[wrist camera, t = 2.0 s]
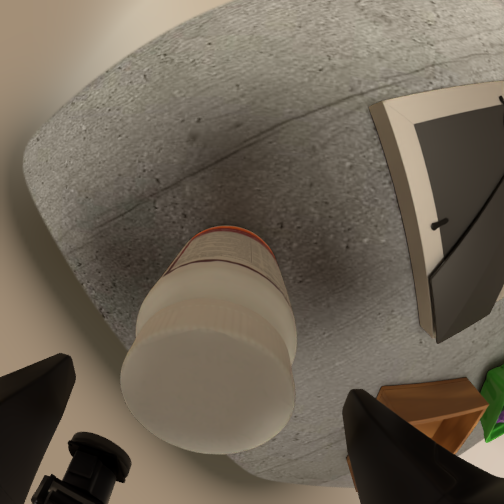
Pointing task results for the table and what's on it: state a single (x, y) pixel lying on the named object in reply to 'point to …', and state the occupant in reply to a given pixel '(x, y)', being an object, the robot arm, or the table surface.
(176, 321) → the pill bottle
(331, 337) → the table surface
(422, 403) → the oak box
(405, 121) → the picture frame
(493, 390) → the fruit basket
